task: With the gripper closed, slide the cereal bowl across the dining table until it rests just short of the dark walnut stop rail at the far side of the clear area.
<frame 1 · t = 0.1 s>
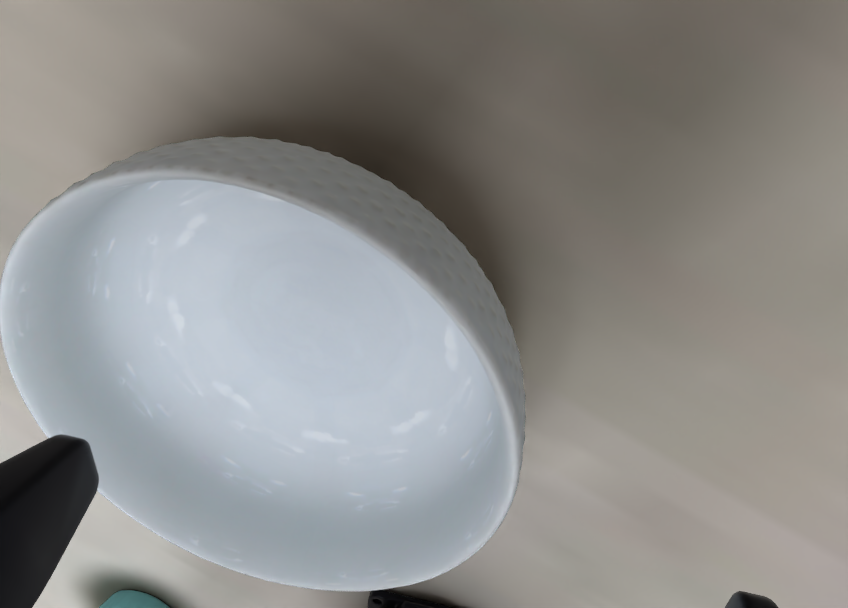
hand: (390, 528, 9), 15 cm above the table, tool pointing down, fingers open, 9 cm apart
cereal bowl: (325, 304, 26), on the table
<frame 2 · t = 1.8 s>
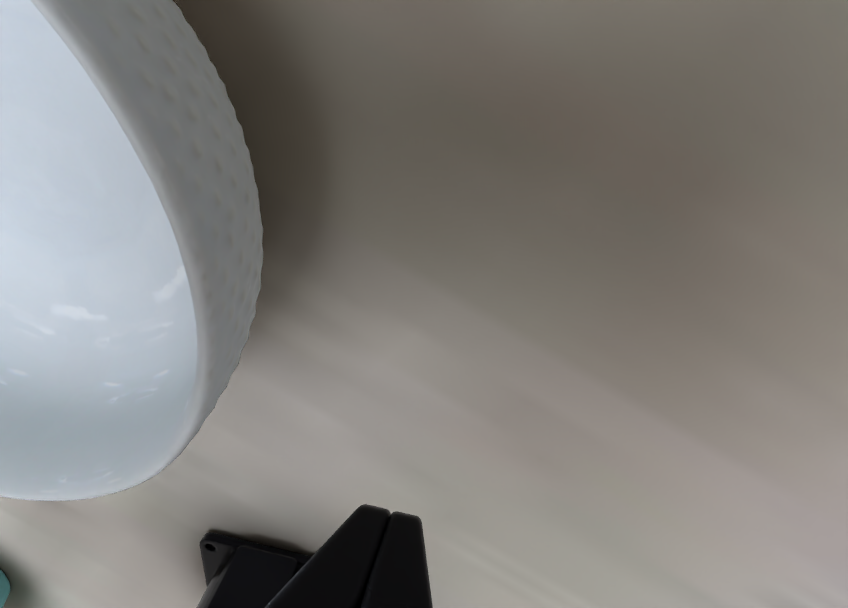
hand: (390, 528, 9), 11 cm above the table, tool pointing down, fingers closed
cereal bowl: (61, 126, 19), on the table
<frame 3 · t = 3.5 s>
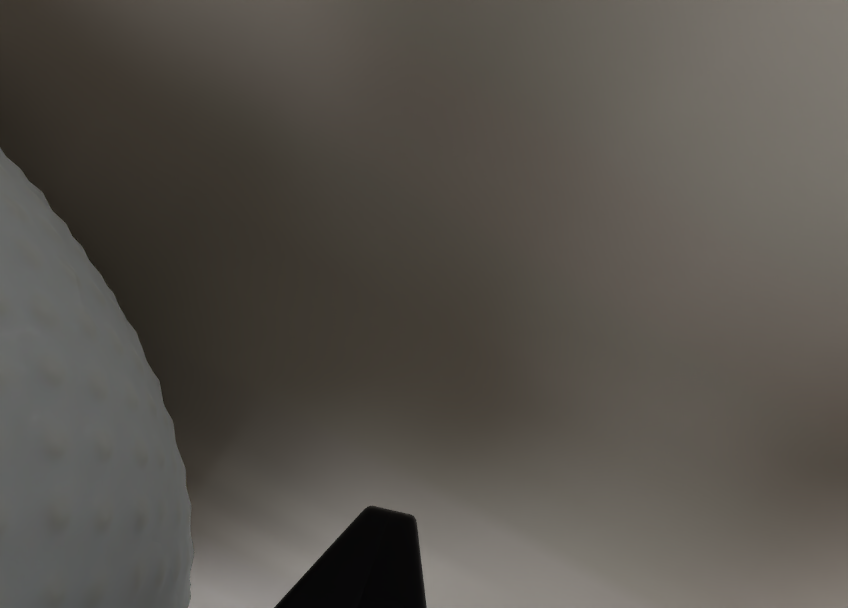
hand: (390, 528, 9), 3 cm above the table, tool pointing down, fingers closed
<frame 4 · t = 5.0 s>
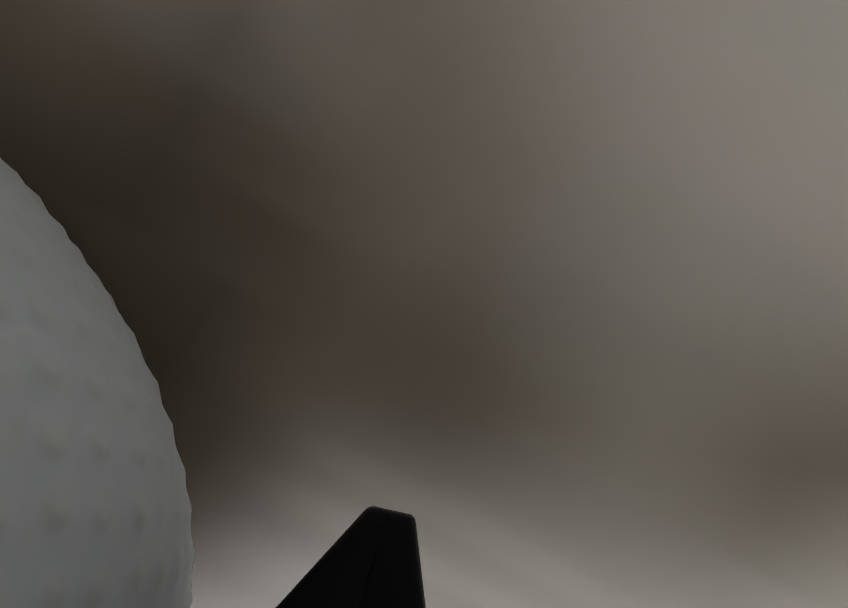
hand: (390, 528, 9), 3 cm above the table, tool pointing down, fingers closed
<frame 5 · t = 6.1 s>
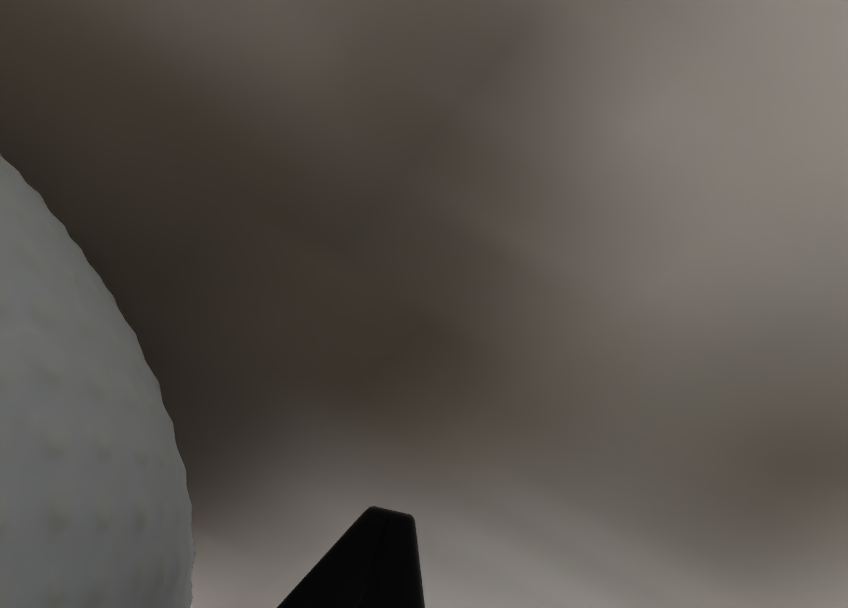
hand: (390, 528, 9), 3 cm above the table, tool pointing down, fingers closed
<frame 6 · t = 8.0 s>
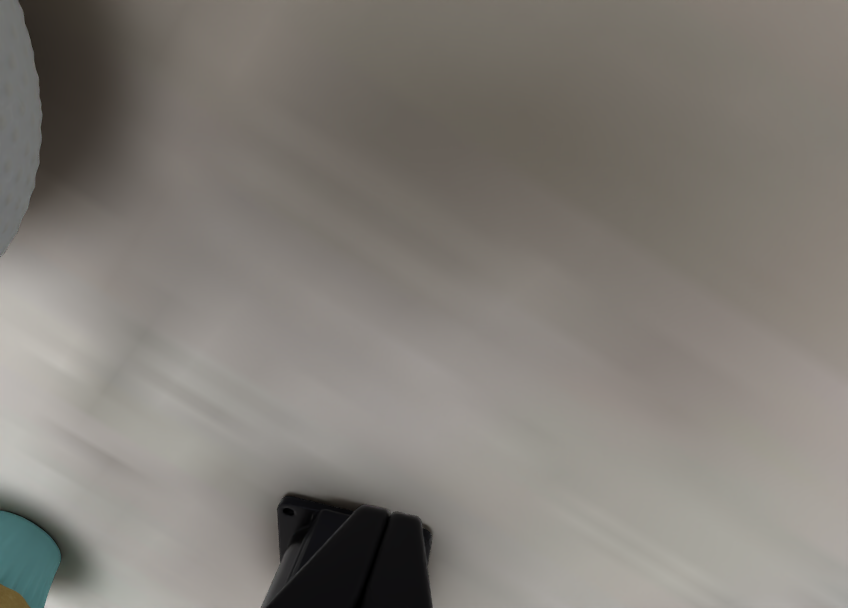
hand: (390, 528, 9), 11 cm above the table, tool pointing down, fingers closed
cupcake: (24, 537, 34), on the table
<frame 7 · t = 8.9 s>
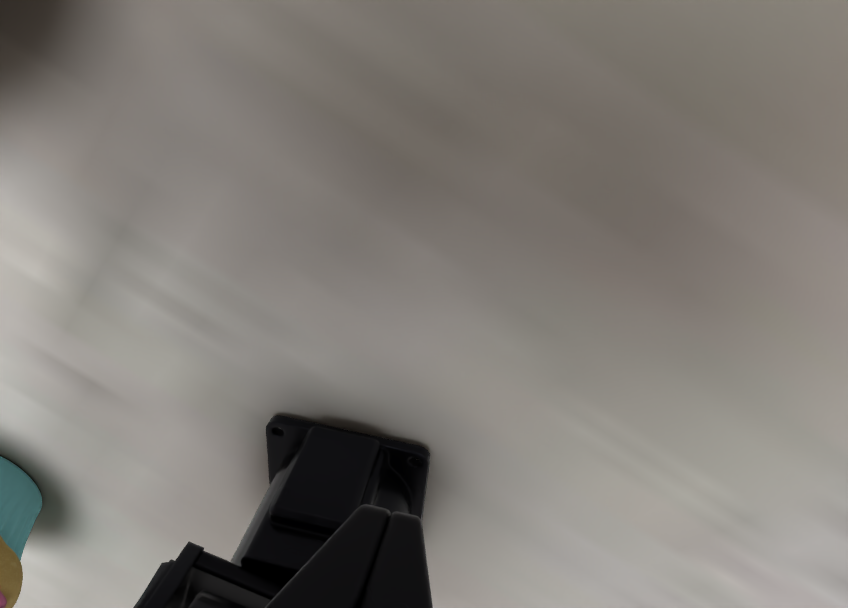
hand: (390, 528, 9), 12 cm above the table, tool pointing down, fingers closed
cupcake: (3, 481, 33), on the table
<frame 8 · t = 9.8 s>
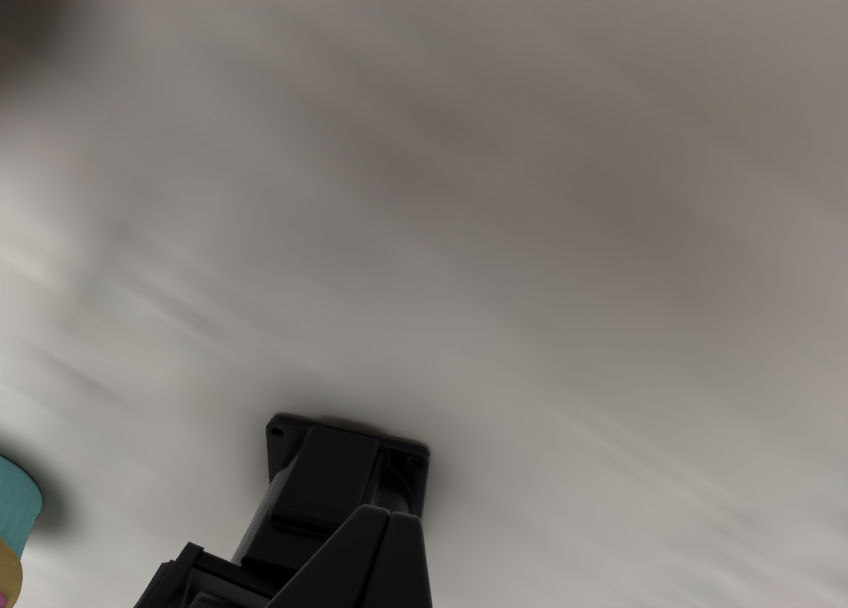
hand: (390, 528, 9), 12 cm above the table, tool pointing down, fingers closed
cupcake: (3, 481, 33), on the table
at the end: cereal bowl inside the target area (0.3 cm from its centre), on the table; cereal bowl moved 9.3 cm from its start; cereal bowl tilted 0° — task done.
